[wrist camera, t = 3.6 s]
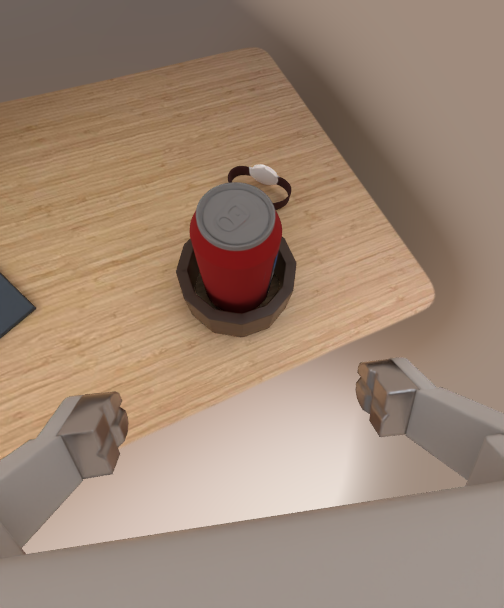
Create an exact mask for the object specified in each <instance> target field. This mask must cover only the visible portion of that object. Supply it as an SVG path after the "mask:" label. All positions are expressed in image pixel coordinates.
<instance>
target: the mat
mask: <svg viewBox="0 0 504 608" xmlns="http://www.w3.org/2000/svg"><path fill="white" fill-rule="evenodd" d="M35 309H36V307H35V306H34V305H33V304H32V303H31V302H29V301H28V300H27V299H26V298H25V297H24V296H23V295H22V294H21V293H20V292H19V291H18V290H17V289H16V288H15V287H14V286H13V285H12V284H11V283H10V282H9V281H8V280H7V279H6V278H5V277H4V276H3V275H2V274H1V273H0V338H1V337H2V336H3V335H5V334H6V333H7V332H8V331H10V330H11V329H12V328H13V327H14V326H16V325H17V324H18V323H19V322H20V321H22V320H23V319H24V318H25V317H26V316H28V315H29V314H30V313H31V312H32V311H34V310H35Z"/></svg>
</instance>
